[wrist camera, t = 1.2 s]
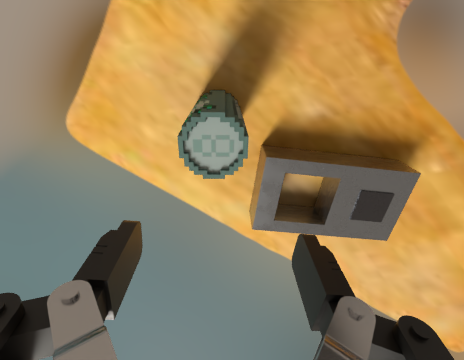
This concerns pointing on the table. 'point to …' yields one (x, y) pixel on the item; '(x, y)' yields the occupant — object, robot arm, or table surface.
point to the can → (214, 136)
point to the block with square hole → (332, 193)
